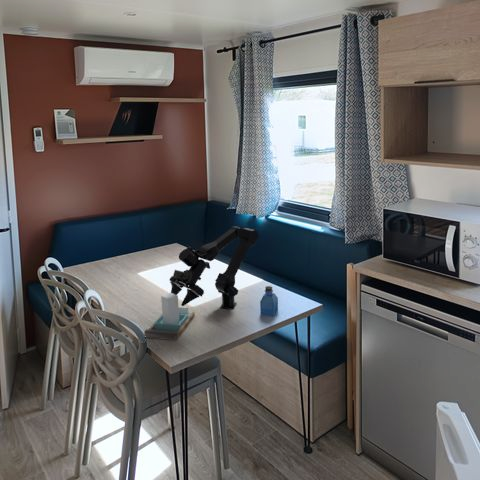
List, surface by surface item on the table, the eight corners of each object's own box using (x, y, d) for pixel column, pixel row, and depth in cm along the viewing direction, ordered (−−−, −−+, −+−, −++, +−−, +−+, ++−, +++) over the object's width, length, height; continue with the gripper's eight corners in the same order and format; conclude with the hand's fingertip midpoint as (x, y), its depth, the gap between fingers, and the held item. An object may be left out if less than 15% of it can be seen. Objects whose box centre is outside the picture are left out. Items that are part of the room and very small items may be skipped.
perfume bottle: (260, 314, 226) (259, 289, 223) (265, 309, 232) (264, 284, 229) (273, 316, 224) (273, 290, 221) (278, 310, 229) (277, 285, 226)
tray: (168, 313, 229) (167, 305, 228) (192, 314, 227) (191, 307, 226) (154, 329, 213) (153, 321, 212) (179, 331, 211) (179, 322, 210)
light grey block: (163, 323, 217) (161, 295, 214) (173, 319, 220) (171, 292, 217) (169, 326, 213) (167, 298, 210) (179, 323, 217) (177, 295, 213)
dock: (165, 314, 229) (164, 308, 228) (194, 316, 226) (194, 310, 225) (144, 337, 207) (144, 331, 206) (177, 340, 204) (177, 333, 203)
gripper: (171, 258, 222) (151, 288, 218) (196, 267, 209) (176, 299, 205) (187, 270, 229) (168, 300, 225) (212, 280, 216) (193, 312, 212)
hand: (175, 302), depth 217 cm, fingers open, 9 cm apart
